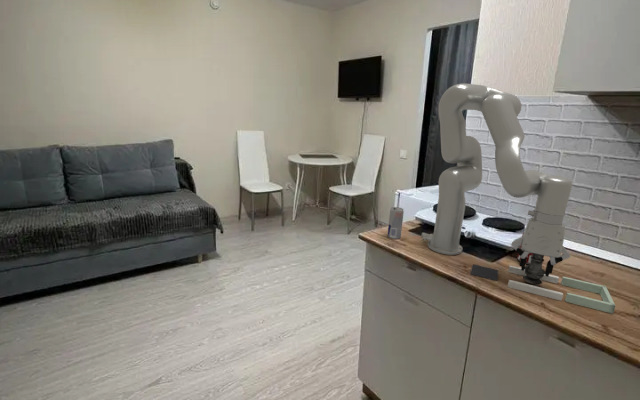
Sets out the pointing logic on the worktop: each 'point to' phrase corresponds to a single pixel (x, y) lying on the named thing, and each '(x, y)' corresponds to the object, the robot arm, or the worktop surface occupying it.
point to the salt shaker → (534, 270)
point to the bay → (604, 305)
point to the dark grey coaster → (484, 272)
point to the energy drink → (395, 222)
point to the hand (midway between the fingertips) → (534, 271)
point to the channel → (532, 288)
